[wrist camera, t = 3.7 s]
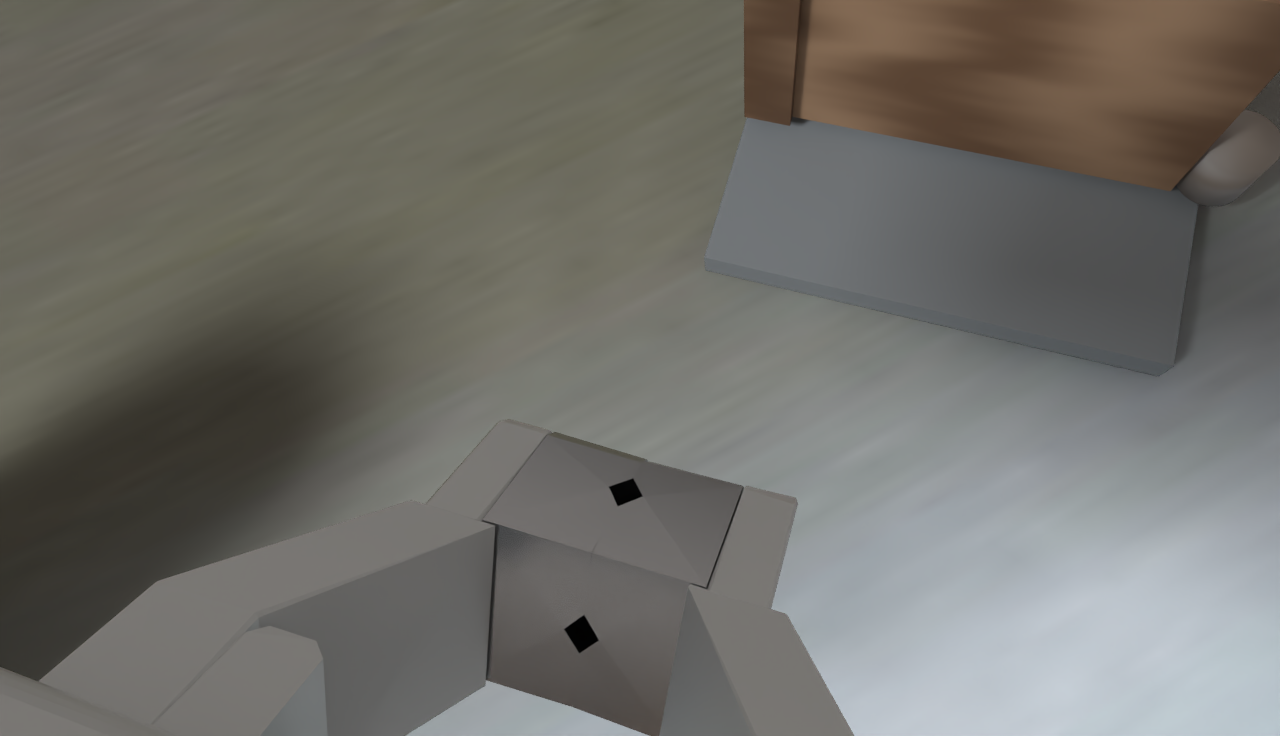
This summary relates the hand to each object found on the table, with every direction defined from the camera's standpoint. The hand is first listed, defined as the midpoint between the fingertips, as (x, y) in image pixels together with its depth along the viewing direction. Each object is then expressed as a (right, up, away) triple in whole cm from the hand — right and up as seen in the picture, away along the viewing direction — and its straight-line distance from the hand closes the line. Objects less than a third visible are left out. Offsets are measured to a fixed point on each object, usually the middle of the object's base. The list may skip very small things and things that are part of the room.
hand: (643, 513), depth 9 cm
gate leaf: (+11, +9, +19) cm, 24 cm away
